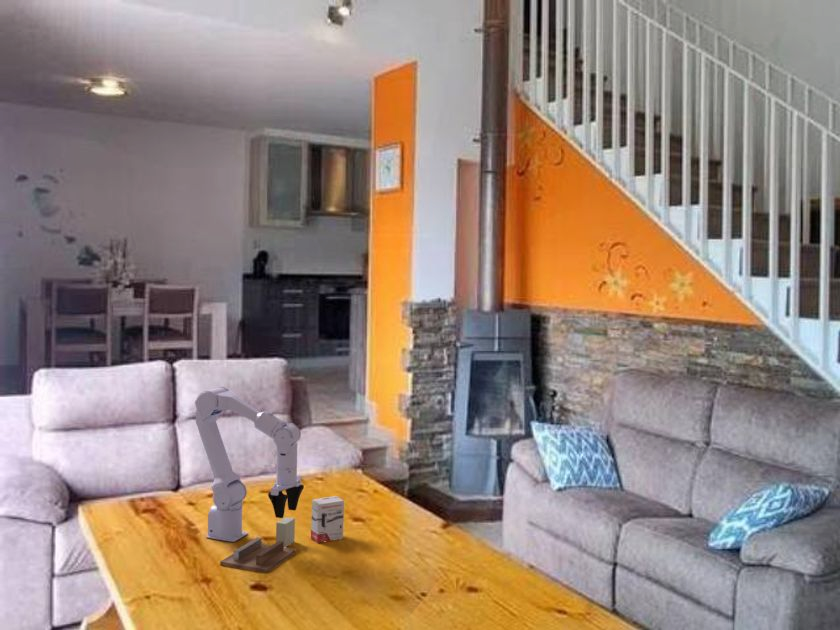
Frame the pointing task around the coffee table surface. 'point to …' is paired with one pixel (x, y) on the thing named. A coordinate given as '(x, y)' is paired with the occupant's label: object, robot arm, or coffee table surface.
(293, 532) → the white rectangular block
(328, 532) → the ink box
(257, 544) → the grey bar
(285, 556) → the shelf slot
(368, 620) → the coffee table surface
